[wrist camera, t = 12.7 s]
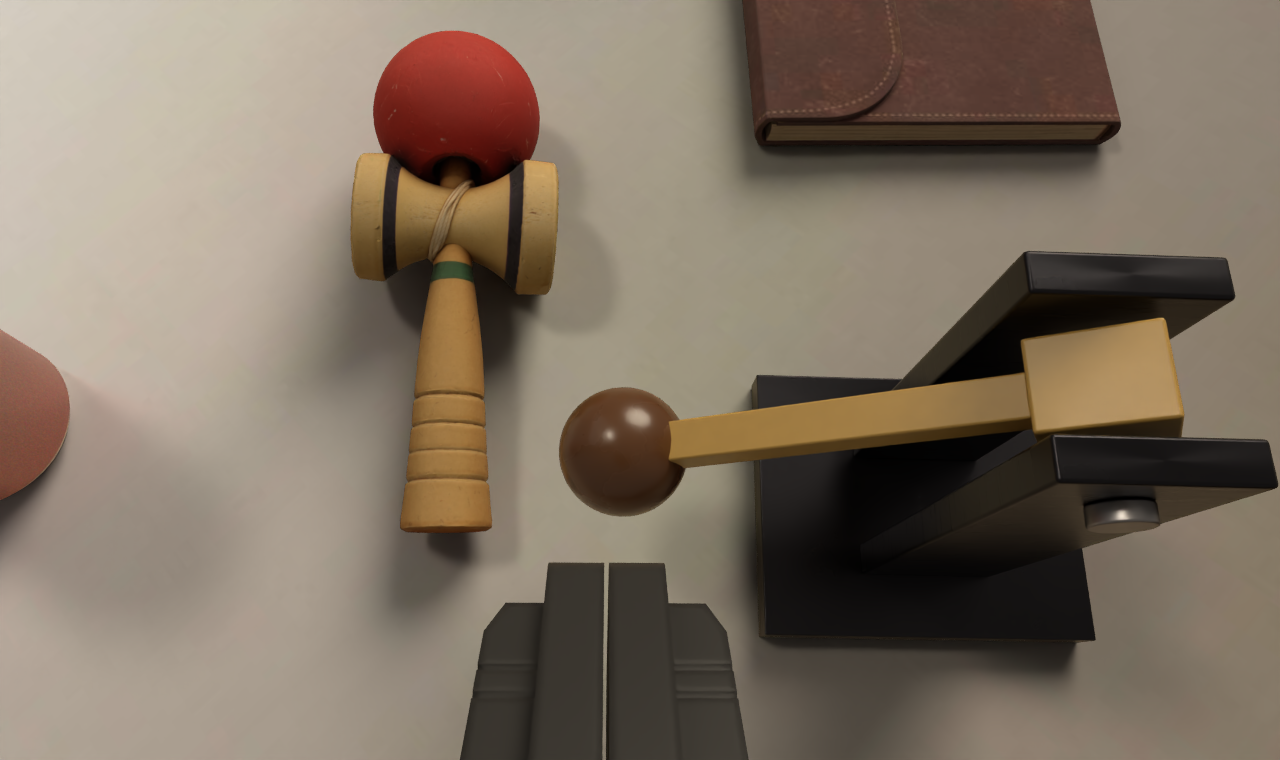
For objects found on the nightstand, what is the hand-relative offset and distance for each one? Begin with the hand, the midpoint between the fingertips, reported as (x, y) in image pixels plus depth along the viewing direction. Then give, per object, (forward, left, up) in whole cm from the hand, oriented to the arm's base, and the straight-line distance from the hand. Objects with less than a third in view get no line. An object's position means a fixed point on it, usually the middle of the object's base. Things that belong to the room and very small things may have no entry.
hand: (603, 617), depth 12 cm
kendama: (+2, +14, -19) cm, 24 cm away
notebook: (+26, +20, -19) cm, 38 cm away
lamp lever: (+8, +2, -11) cm, 14 cm away
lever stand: (+12, -1, -19) cm, 23 cm away
